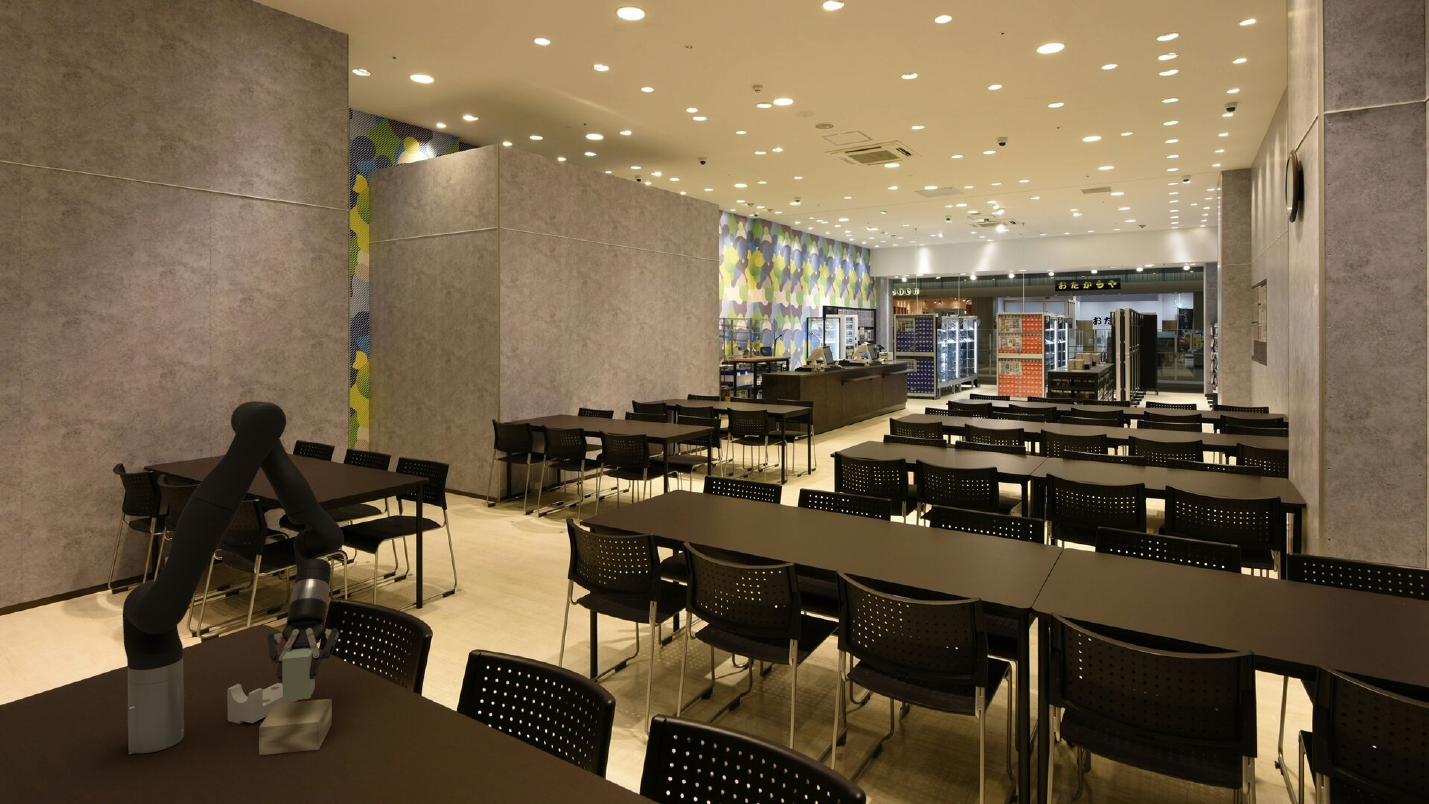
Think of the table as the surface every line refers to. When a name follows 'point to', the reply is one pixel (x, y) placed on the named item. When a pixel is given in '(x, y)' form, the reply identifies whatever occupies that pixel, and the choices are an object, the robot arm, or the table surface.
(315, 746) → the birch block
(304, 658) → the green prism
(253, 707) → the bracket
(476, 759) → the table surface
